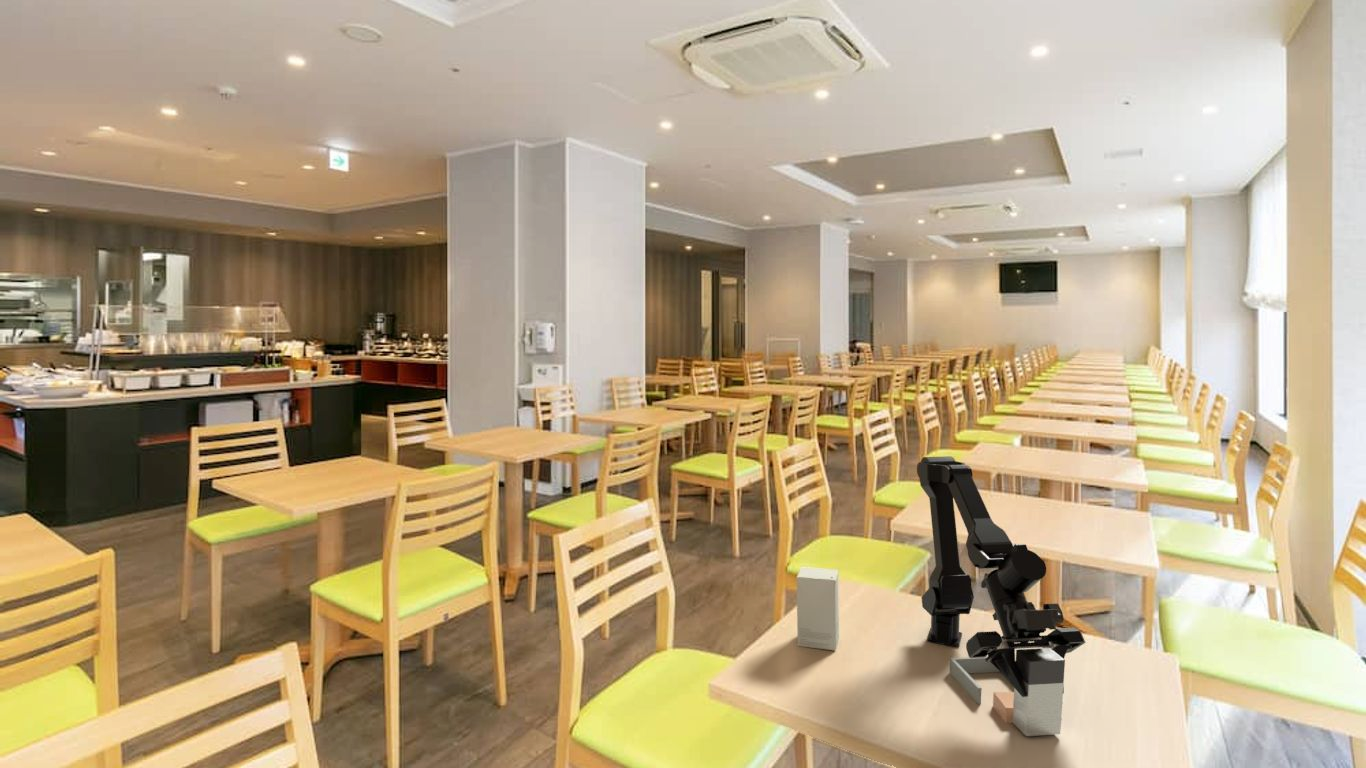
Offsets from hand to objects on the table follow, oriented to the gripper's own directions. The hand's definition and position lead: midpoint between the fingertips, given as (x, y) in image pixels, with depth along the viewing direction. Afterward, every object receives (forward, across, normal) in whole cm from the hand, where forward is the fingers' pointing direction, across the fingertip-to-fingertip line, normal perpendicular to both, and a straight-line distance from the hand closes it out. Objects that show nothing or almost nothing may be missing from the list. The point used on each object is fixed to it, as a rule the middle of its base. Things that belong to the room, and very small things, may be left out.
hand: (1043, 695), depth 115 cm
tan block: (+1, 0, +10) cm, 10 cm away
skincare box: (-20, -28, +31) cm, 46 cm away
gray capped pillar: (+4, 0, +6) cm, 7 cm away
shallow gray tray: (-6, 0, +16) cm, 17 cm away
